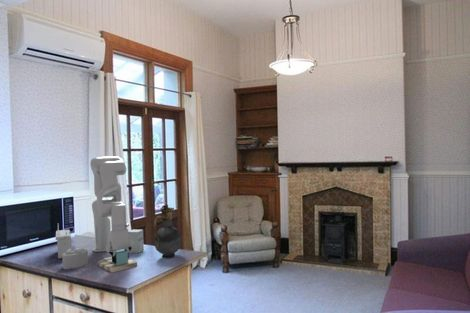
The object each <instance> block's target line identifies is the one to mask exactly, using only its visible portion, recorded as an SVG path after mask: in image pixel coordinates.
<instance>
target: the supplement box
mask: <svg viewBox="0 0 470 313" xmlns="http://www.w3.org/2000/svg"><path fill="white" fill-rule="evenodd" d="M128 232H129V237H130V241H131V242H132V243H133V244H134V246H133V247H132V249H131V250H130V252H129V254H130V253H131V254H139V253H140V252H142V251H144V248H145V247H144V244H145V243H144V229H131V230H128Z"/></svg>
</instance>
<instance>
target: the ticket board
mask: <svg viewBox="0 0 470 313" xmlns="http://www.w3.org/2000/svg"><path fill="white" fill-rule="evenodd" d="M97 266H99V267H100V268H103V269H105V270H106V271H108V272H110V273H115V272H118V271H123V270H126V269H131V268H134V267H137V266H138V261H135V260H133V259H131V258H130V257H129V258H128V263H125V264H121V265H115V264H113V262H112V256H106V257H103V259H101V260H98V261H97Z"/></svg>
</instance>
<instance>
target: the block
mask: <svg viewBox="0 0 470 313" xmlns="http://www.w3.org/2000/svg"><path fill="white" fill-rule="evenodd" d="M115 256H116V264H115V263H113V264H115V265H121V264H125V263H128V251H125V249H120V250H117V251H116V254H115Z"/></svg>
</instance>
